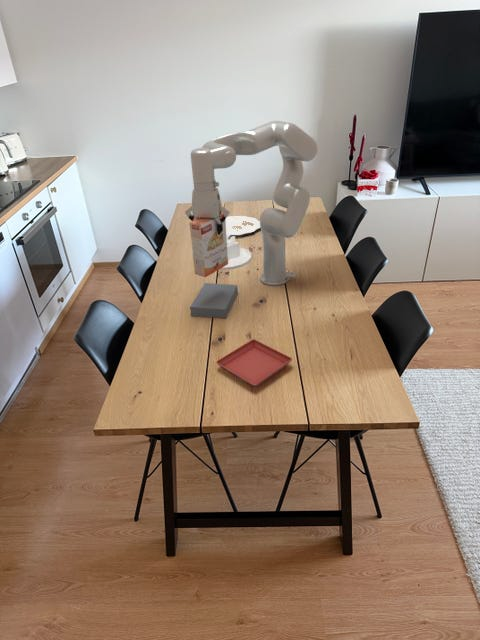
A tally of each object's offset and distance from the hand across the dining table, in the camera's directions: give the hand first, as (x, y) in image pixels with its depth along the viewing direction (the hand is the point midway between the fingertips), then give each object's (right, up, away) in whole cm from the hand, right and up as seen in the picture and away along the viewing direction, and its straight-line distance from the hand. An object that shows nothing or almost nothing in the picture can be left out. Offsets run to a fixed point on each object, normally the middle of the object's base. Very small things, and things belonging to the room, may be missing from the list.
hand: (208, 232), depth 174 cm
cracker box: (+1, -13, +8) cm, 15 cm away
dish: (+5, -3, +54) cm, 54 cm away
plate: (+9, +18, +87) cm, 89 cm away
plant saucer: (+16, -48, -20) cm, 55 cm away
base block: (+1, -26, +16) cm, 31 cm away
